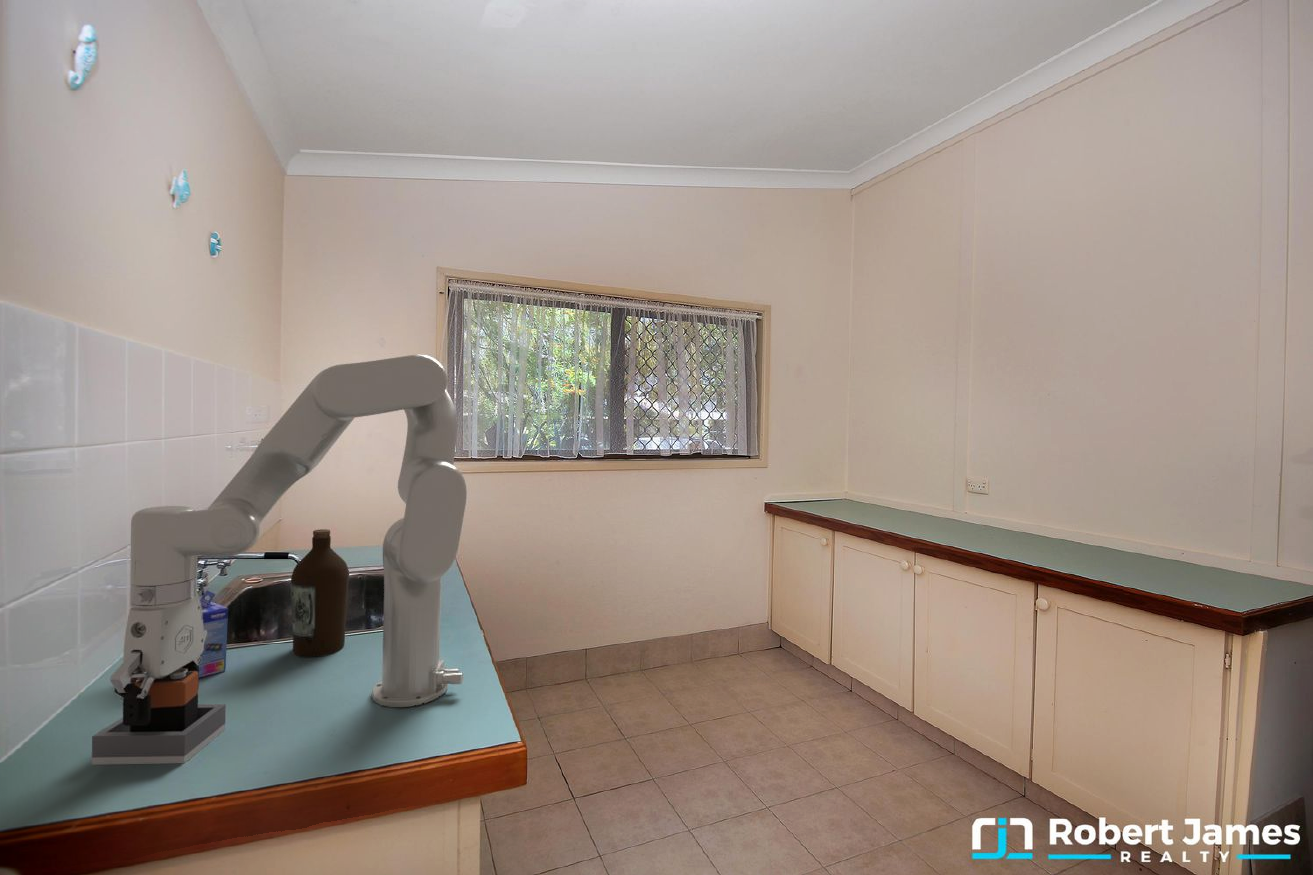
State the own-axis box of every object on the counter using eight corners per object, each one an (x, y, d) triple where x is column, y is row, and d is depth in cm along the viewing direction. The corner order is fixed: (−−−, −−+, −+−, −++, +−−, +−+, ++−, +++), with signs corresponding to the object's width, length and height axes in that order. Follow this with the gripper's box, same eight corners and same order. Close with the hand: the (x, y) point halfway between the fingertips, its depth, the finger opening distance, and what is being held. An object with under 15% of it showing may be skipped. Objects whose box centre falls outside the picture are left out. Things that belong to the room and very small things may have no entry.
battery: (183, 744, 86) (184, 676, 85) (128, 748, 84) (128, 679, 84) (198, 728, 90) (199, 664, 90) (146, 732, 88) (147, 666, 88)
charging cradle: (225, 729, 92) (225, 704, 92) (184, 763, 83) (184, 735, 83) (142, 730, 91) (142, 704, 91) (91, 764, 82) (92, 736, 82)
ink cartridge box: (228, 670, 112) (230, 595, 112) (194, 681, 108) (195, 602, 107) (205, 658, 117) (206, 586, 117) (171, 667, 113) (172, 592, 112)
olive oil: (324, 636, 131) (327, 524, 130) (358, 644, 127) (361, 529, 126) (277, 652, 121) (279, 531, 121) (312, 662, 117) (315, 537, 116)
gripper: (146, 611, 78) (144, 738, 78) (229, 576, 95) (227, 681, 95) (84, 610, 77) (83, 739, 78) (179, 575, 94) (177, 681, 95)
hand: (162, 707), depth 87 cm, fingers open, 9 cm apart
